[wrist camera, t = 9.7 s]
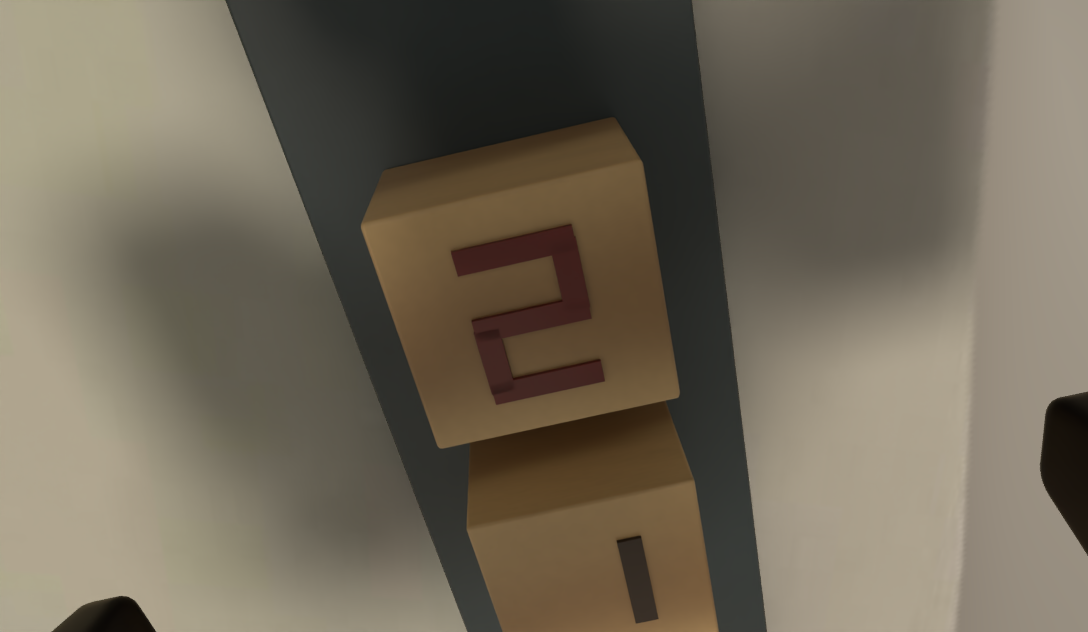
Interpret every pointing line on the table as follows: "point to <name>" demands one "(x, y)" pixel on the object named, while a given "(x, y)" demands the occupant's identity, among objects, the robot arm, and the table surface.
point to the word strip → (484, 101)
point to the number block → (525, 282)
